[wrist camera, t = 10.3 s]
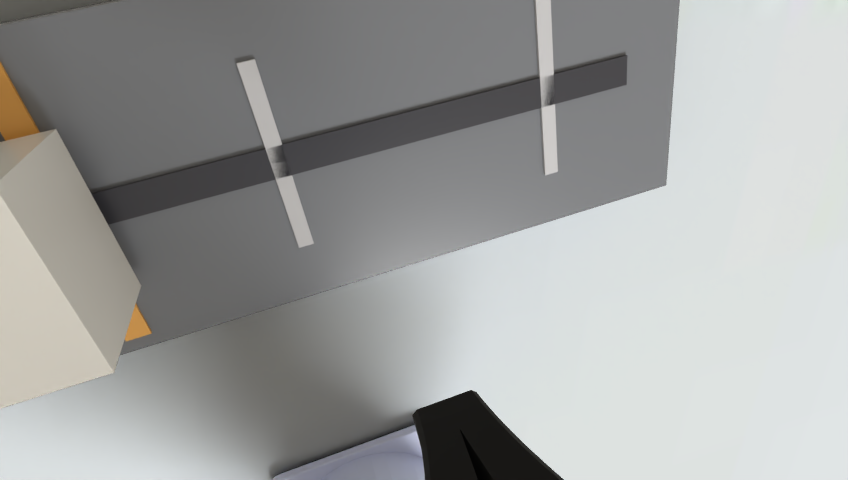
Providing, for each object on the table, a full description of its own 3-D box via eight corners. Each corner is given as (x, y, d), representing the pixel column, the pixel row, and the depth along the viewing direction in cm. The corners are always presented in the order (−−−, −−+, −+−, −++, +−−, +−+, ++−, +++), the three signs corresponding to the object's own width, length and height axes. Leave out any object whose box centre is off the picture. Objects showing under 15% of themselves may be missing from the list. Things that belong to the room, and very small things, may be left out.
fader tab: (141, 285, 16) (114, 372, 13) (35, 316, 16) (-22, 415, 12) (56, 129, 14) (-7, 185, 10) (-74, 159, 13) (-185, 229, 10)
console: (634, 168, 23) (667, 185, 21) (-89, 386, 18) (-126, 433, 16) (645, -107, 18) (690, -114, 16) (-359, 95, 13) (-456, 117, 11)
